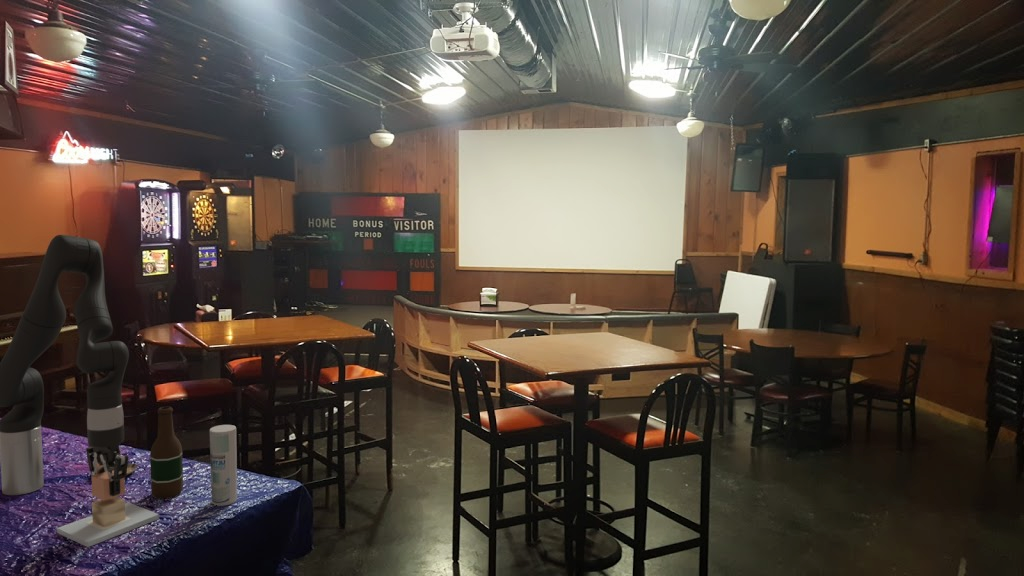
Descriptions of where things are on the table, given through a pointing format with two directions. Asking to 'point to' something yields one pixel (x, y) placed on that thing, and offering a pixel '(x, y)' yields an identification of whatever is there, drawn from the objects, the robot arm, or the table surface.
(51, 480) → the table surface
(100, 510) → the maple block
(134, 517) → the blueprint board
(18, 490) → the robot arm
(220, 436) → the spray can
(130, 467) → the burger
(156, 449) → the beer bottle
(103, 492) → the terracotta block
